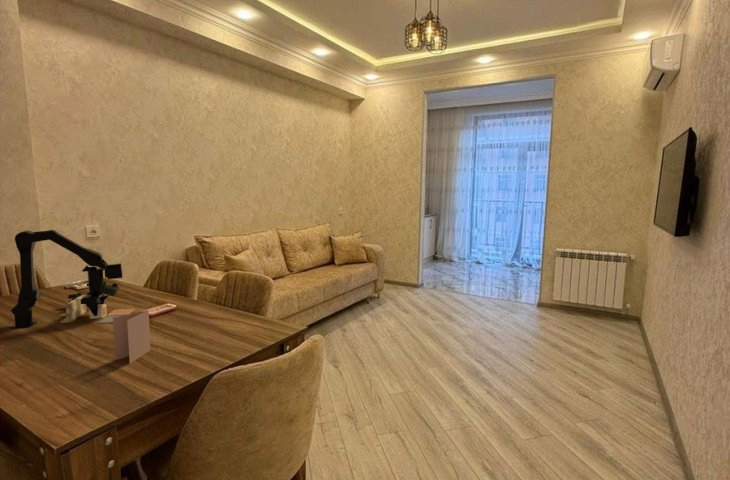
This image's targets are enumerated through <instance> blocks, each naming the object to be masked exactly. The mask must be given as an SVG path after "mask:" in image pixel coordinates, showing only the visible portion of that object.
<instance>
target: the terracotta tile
mask: <svg viewBox="0 0 730 480" xmlns="http://www.w3.org/2000/svg"><path fill="white" fill-rule="evenodd" d="M135 310H136V308H123V309H122V308H121V309H113V310H112V311H111V312H110V313H108V314H107V315H106V316H120V315H127V314H132V313H134V311H135Z"/></svg>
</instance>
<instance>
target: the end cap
mask: <svg viewBox="0 0 730 480" xmlns="http://www.w3.org/2000/svg"><path fill="white" fill-rule="evenodd" d="M81 295H86V294H85V293H84V292H82V291H78V292H77V293H74V294H68V295H67V297H68V299H71V300H68V303H69V302H71V301H73V300H74V299H76V298H78V297H79V296H81ZM86 308H88V306H87V305H86Z"/></svg>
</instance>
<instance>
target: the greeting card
mask: <svg viewBox="0 0 730 480" xmlns="http://www.w3.org/2000/svg"><path fill="white" fill-rule="evenodd" d="M112 326H113V339H114V355H115V359H114V360H115V361H118V360H121V359H124V358H128V357H129V364H131V363H133V362H135V361H136V360H137V359H139V358H140V357H142V356H144V355H145V354H147V353H148V352H150V351H151V350H152V349H151V348H152V347H151V332H150V312H149V310H146V309H145V310H142V311H138V312H132V313H131V314H127V315H123V316H118V317H113V323H112Z"/></svg>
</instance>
